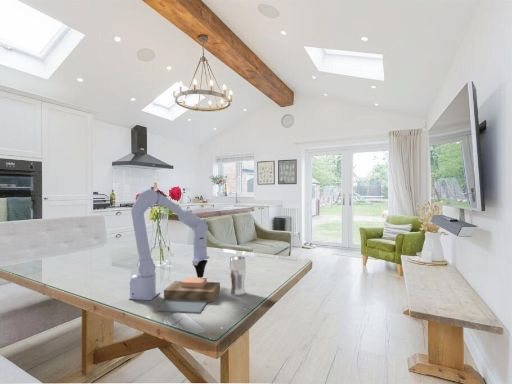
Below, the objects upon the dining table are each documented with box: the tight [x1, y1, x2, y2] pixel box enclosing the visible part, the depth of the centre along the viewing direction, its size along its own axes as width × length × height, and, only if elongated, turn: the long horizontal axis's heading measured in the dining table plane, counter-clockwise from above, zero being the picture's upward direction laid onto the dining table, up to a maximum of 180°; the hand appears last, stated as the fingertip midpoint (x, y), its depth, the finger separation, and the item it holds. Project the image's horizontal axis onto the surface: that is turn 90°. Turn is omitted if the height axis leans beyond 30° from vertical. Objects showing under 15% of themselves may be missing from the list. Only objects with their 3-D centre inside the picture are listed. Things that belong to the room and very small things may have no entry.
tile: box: [181, 277, 208, 288], centre depth 116 cm, size 9×6×2 cm, turn 83°
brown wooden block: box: [163, 280, 221, 303], centre depth 114 cm, size 20×11×4 cm, turn 83°
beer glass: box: [228, 255, 247, 297], centre depth 117 cm, size 7×7×15 cm
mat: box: [156, 299, 209, 314], centre depth 104 cm, size 16×10×1 cm, turn 83°
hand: (200, 277), depth 124 cm, fingers closed
